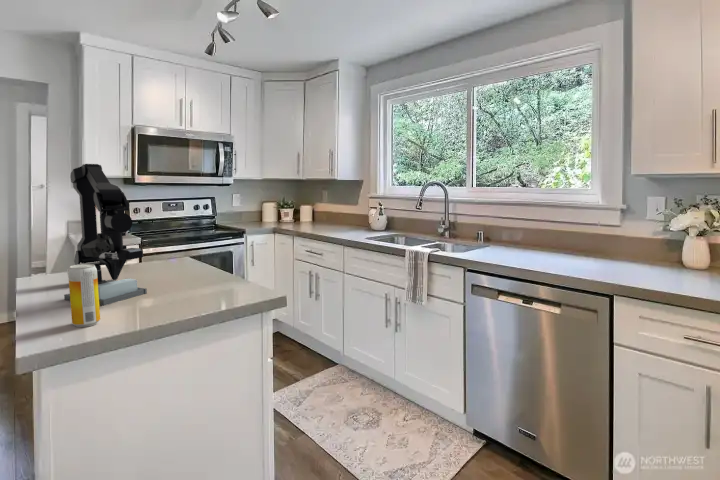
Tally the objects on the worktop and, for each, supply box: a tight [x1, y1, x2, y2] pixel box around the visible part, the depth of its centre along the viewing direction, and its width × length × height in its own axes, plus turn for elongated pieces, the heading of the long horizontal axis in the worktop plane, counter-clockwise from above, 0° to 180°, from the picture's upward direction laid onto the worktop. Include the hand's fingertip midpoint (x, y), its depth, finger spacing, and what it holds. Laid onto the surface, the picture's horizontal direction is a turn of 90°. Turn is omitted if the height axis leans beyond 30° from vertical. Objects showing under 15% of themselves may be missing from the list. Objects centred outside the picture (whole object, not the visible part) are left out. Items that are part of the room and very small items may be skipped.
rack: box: [63, 279, 148, 307], centre depth 135 cm, size 16×16×4 cm
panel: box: [98, 278, 138, 299], centre depth 134 cm, size 4×12×5 cm, turn 152°
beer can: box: [67, 263, 101, 328], centre depth 109 cm, size 6×6×15 cm
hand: (114, 279), depth 134 cm, fingers closed
